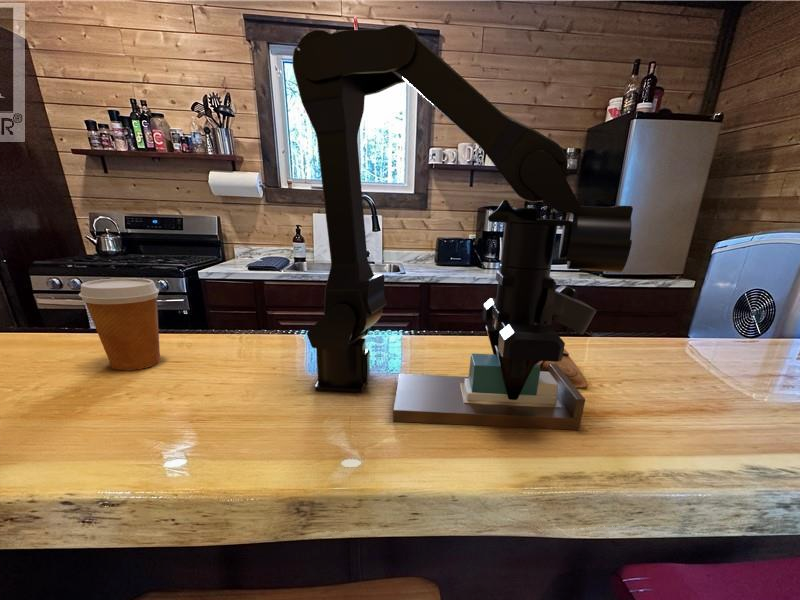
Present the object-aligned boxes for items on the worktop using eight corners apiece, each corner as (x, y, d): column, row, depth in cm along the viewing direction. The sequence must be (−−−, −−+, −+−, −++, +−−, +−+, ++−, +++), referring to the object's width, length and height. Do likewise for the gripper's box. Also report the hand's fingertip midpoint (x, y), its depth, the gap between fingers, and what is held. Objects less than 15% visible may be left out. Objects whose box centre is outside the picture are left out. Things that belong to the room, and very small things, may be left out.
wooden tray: (392, 421, 51) (393, 390, 49) (399, 383, 62) (399, 356, 61) (579, 430, 51) (585, 399, 49) (552, 390, 62) (556, 364, 60)
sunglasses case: (593, 386, 62) (576, 346, 60) (547, 406, 64) (529, 368, 62) (561, 348, 79) (547, 317, 77) (525, 365, 81) (510, 334, 79)
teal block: (467, 400, 54) (470, 365, 52) (464, 385, 58) (466, 352, 56) (555, 404, 53) (562, 369, 52) (545, 388, 58) (551, 356, 56)
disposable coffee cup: (184, 361, 67) (171, 283, 62) (118, 379, 59) (96, 291, 55) (151, 349, 71) (136, 275, 67) (85, 364, 64) (63, 282, 59)
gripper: (630, 282, 41) (597, 427, 47) (570, 259, 58) (551, 368, 64) (513, 277, 41) (495, 422, 47) (488, 256, 58) (477, 364, 64)
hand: (508, 390), depth 56 cm, fingers open, 5 cm apart
